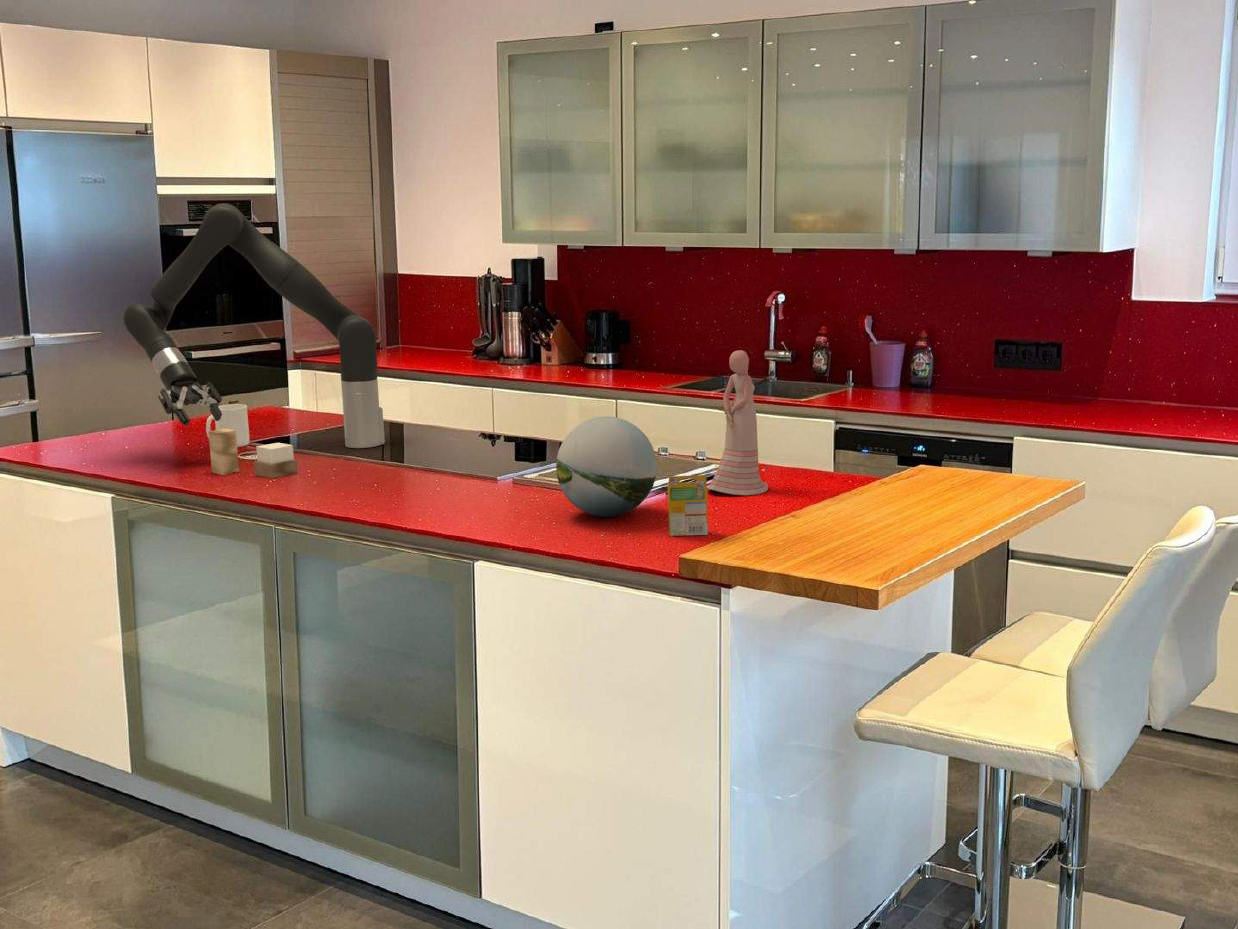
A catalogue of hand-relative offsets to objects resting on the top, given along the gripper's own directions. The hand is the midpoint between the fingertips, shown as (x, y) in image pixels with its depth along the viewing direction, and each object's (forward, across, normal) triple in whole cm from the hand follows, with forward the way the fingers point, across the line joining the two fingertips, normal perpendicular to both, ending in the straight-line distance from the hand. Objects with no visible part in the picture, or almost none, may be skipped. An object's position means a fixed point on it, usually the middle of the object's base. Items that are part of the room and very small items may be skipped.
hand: (203, 421), depth 326 cm
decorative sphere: (+87, +22, -70) cm, 114 cm away
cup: (-7, +19, +24) cm, 31 cm away
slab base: (+22, +6, -6) cm, 24 cm away
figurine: (+92, +55, -76) cm, 131 cm away
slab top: (+20, +6, -8) cm, 22 cm away
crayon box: (+102, +20, -86) cm, 135 cm away
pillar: (+14, 0, +3) cm, 14 cm away
